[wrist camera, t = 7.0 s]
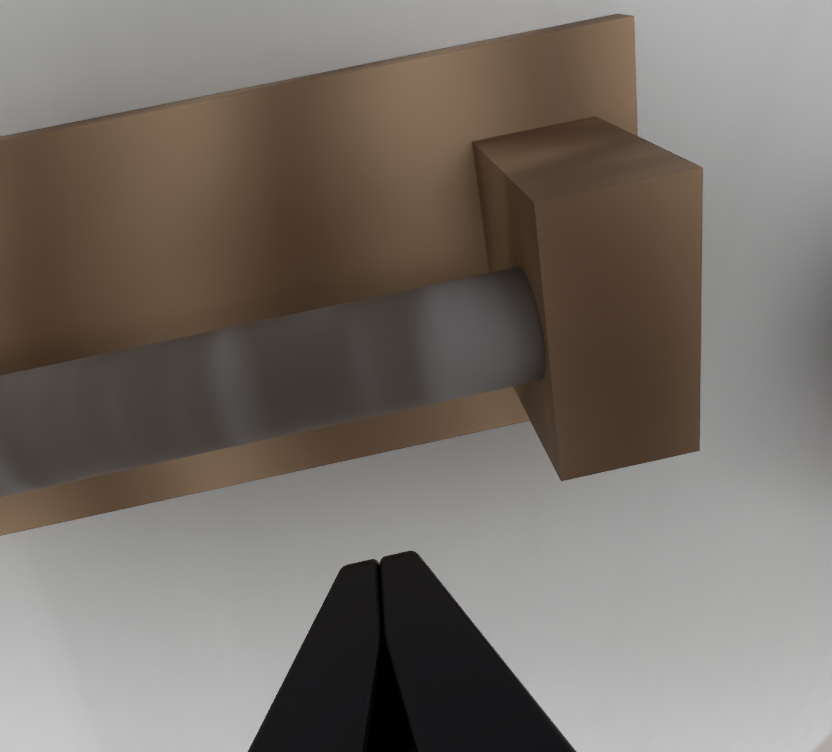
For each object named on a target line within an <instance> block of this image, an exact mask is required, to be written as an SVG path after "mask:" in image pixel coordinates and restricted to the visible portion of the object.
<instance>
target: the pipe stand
mask: <svg viewBox="0 0 832 752" xmlns="http://www.w3.org/2000/svg"><path fill="white" fill-rule="evenodd" d="M702 184H703V168H702V167H700V166H698V165H696V164H694V163H692V162H690V161H688V160H686V159H684V158H682V157H680V156H678V155H675V154H673V153H671V152H669V151H667V150H665V149H663V148H661V147H659V146H657V145H655V144H653V143H650V142H648V141H646V140H644V139H642V138H640V137H638V136H637V103H636V69H635V35H634V16H630V15H622V14H615V15H610V16H605V17H600V18H595V19H590V20H585V21H580V22H575V23H570V24H565V25H560V26H555V27H550V28H545V29H540V30H535V31H530V32H525V33H520V34H515V35H510V36H505V37H500V38H495V39H490V40H484V41H479V42H474V43H469V44H464V45H459V46H454V47H449V48H444V49H439V50H434V51H429V52H424V53H419V54H414V55H409V56H404V57H399V58H394V59H389V60H384V61H379V62H374V63H369V64H364V65H359V66H354V67H349V68H344V69H339V70H334V71H329V72H324V73H319V74H314V75H309V76H303V77H298V78H293V79H288V80H283V81H278V82H273V83H268V84H263V85H258V86H253V87H248V88H243V89H238V90H233V91H228V92H223V93H218V94H213V95H208V96H203V97H198V98H193V99H188V100H183V101H178V102H173V103H168V104H163V105H158V106H153V107H148V108H143V109H138V110H133V111H128V112H123V113H117V114H112V115H107V116H102V117H97V118H92V119H87V120H82V121H77V122H72V123H67V124H62V125H57V126H52V127H47V128H42V129H37V130H32V131H27V132H22V133H17V134H12V135H7V136H2V137H0V536H1V535H6V534H10V533H15V532H19V531H24V530H29V529H33V528H38V527H42V526H47V525H52V524H56V523H61V522H65V521H70V520H75V519H79V518H84V517H88V516H93V515H98V514H102V513H107V512H111V511H116V510H121V509H125V508H130V507H134V506H139V505H144V504H148V503H153V502H157V501H162V500H167V499H171V498H176V497H180V496H185V495H189V494H194V493H199V492H203V491H208V490H212V489H217V488H222V487H226V486H231V485H235V484H240V483H245V482H249V481H254V480H258V479H263V478H268V477H272V476H277V475H281V474H286V473H291V472H295V471H300V470H304V469H309V468H314V467H318V466H323V465H327V464H332V463H337V462H341V461H346V460H350V459H355V458H360V457H364V456H369V455H373V454H378V453H383V452H387V451H392V450H396V449H401V448H406V447H410V446H415V445H419V444H424V443H429V442H433V441H438V440H442V439H447V438H452V437H456V436H461V435H465V434H470V433H475V432H479V431H484V430H488V429H493V428H498V427H502V426H507V425H511V424H516V423H521V422H525V421H531V423H532V425H533V427H534V429H535V431H536V433H537V435H538V437H539V439H540V441H541V443H542V445H543V447H544V449H545V451H546V452H547V454H548V456H549V458H550V460H551V462H552V464H553V466H554V468H555V470H556V472H557V474H558V476H559V478H560V480H561V481H564V480H569V479H573V478H578V477H582V476H587V475H591V474H596V473H600V472H605V471H609V470H614V469H618V468H623V467H628V466H632V465H637V464H641V463H646V462H650V461H655V460H659V459H664V458H668V457H673V456H677V455H682V454H686V453H691V452H696V451H700V362H701V273H702Z"/></svg>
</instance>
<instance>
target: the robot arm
mask: <svg viewBox="0 0 832 752" xmlns="http://www.w3.org/2000/svg"><path fill="white" fill-rule="evenodd" d="M248 752H576V751H575V749H574V748H573V747H572V746H571V744H570V743H569V742H568V741H567V739H566V738H565V737H564V736H563V734H562V733H561V732H560V731H559V729H558V728H557V727H556V726H555V724H554V723H553V722H552V721H551V719H550V718H549V717H548V716H547V714H546V713H545V712H544V711H543V709H542V708H541V707H540V706H539V704H538V703H537V702H536V701H535V699H534V698H533V697H532V696H531V694H530V693H529V692H528V691H527V689H526V688H525V687H524V686H523V684H522V683H521V682H520V681H519V679H518V678H517V677H516V676H515V674H514V673H513V672H512V671H511V669H510V668H509V667H508V666H507V664H506V663H505V662H504V661H503V659H502V658H501V657H500V656H499V654H498V653H497V652H496V651H495V650H494V648H493V647H492V646H491V645H490V643H489V642H488V641H487V640H486V638H485V637H484V636H483V635H482V633H481V632H480V631H479V630H478V628H477V627H476V626H475V625H474V623H473V622H472V621H471V620H470V618H469V617H468V616H467V615H466V613H465V612H464V611H463V610H462V608H461V607H460V606H459V605H458V603H457V602H456V601H455V600H454V598H453V597H452V596H451V595H450V593H449V592H448V591H447V590H446V588H445V587H444V586H443V585H442V583H441V582H440V581H439V580H438V578H437V577H436V576H435V575H434V573H433V572H432V571H431V570H430V568H429V567H428V566H427V565H426V563H425V562H424V561H423V560H422V558H421V557H420V556H419V555H418V554H417V553H416V552H414V551H407V552H402V553H398V554H393V555H389V556H385V557H383V558H382V559H381V561H380V564H379V562H378V561H377V560H374V559H371V560H366V561H362V562H357V563H353V564H348V565H345V566H343V567H342V568H341V569H340V571H339V573H338V575H337V577H336V579H335V581H334V583H333V585H332V587H331V589H330V591H329V593H328V595H327V597H326V599H325V601H324V603H323V605H322V607H321V609H320V610H319V612H318V614H317V616H316V618H315V620H314V622H313V624H312V626H311V628H310V630H309V632H308V634H307V636H306V638H305V640H304V642H303V644H302V646H301V648H300V650H299V652H298V654H297V656H296V658H295V660H294V662H293V664H292V666H291V668H290V670H289V672H288V674H287V676H286V678H285V680H284V681H283V683H282V685H281V687H280V689H279V691H278V693H277V695H276V697H275V699H274V701H273V703H272V705H271V707H270V709H269V711H268V713H267V715H266V717H265V719H264V721H263V723H262V725H261V727H260V729H259V731H258V733H257V735H256V737H255V739H254V741H253V743H252V745H251V747H250V749H249V751H248Z"/></svg>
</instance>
